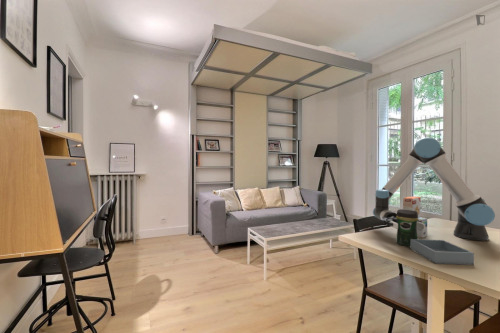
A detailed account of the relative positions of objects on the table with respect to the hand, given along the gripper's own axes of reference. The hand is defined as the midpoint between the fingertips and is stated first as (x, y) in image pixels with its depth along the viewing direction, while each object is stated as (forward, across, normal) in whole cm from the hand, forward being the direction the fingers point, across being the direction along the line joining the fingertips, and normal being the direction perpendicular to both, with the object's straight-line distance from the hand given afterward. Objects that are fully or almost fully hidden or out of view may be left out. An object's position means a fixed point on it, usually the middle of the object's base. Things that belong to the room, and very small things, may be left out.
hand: (410, 226), depth 122 cm
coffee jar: (-3, 0, -11) cm, 11 cm away
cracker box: (-37, -22, -11) cm, 45 cm away
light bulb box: (-23, -16, -11) cm, 30 cm away
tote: (+12, -6, -10) cm, 17 cm away
